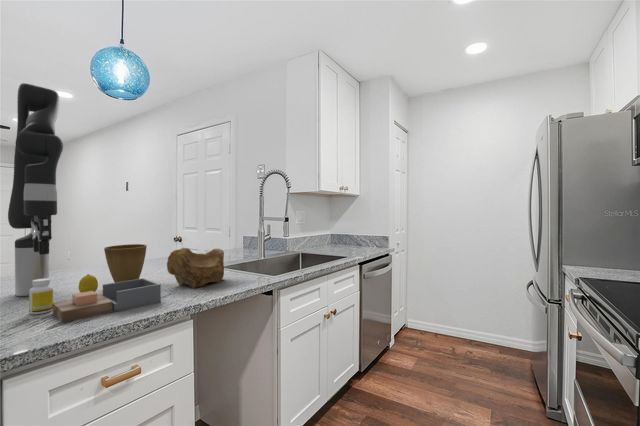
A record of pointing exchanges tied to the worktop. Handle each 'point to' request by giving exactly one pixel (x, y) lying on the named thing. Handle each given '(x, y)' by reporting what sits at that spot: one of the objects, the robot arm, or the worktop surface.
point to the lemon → (88, 284)
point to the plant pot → (125, 261)
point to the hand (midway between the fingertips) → (41, 253)
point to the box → (132, 293)
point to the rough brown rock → (196, 267)
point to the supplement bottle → (40, 297)
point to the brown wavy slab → (81, 309)
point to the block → (84, 298)
